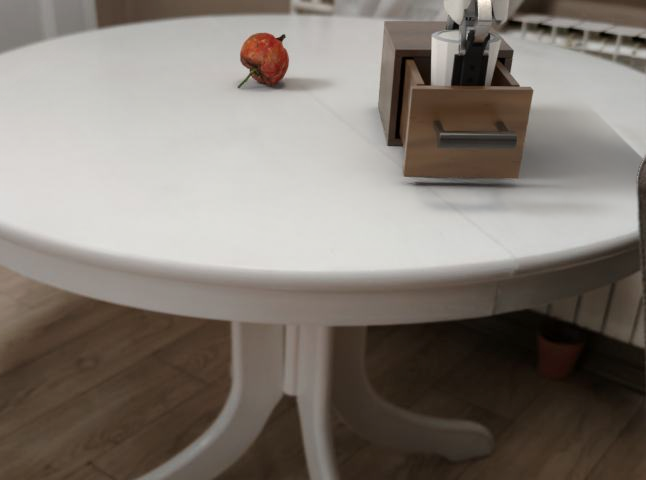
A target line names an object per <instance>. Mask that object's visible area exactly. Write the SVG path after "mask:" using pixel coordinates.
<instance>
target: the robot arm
mask: <svg viewBox="0 0 646 480" xmlns="http://www.w3.org/2000/svg"><path fill="white" fill-rule="evenodd" d="M442 3H443V9H444V10H445V12H446V13H447V18H446V21H447V23H446V29H445V30H458V29H459V43H458V54H454V63H453V71H452V79H451V86H485V80H486V73H487V66H488V59H489V48H490V28H491V26H492V23H493V22H494V24H496V25H497V26H502V25H504V24H505V22H507V20H508V15H509V8H510V0H443V2H442ZM467 30H470V31H469V33H468V36H467V40H466V35H467Z"/></svg>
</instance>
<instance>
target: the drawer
mask: <svg viewBox="0 0 646 480" xmlns="http://www.w3.org/2000/svg"><path fill="white" fill-rule="evenodd" d="M533 94H534V89H533V88H532V87H531V86H521V85H520V83H519V82H518V81H517V80H516V79H515V77H514V76H513V75H512V74H511V73H509V71H508V70H507V69H506V68H505V67H504V65H503V64H502V63H501V62H500V60H499V59H498V58H497V60H496V64H495V68H494V73H493V77H492V81H491V85H490V86H431V57H405V58H404V69H403V80H402V91H401V103H400V114H399V125H398V131H399V134H400V138H401V141H402V145H403V146H402V147H403V151H404V153H403V165H402V175H403V178H451V179H452V178H454V179H457V178H459V179H515V180H516V179H519V176H520V169H521V164H522V159H523V158H522V157H523V153H524V146H525V142H526V141H525V140H526V135H527V129H528V125H529V118H530V112H531V108H532V107H531V106H532V101H533Z"/></svg>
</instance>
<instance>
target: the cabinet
mask: <svg viewBox="0 0 646 480" xmlns="http://www.w3.org/2000/svg"><path fill="white" fill-rule="evenodd" d="M446 23H447V20H446V21H445V20H444V21H443V20H441V21H439V20H438V21H437V20H384V22H383V36H382V49H381V61H380V75H379V89H378V101H377V108H378V112H379V117H380V120H381V124H382V125H381V126H382V128H383V133H384V137H385V141H386V145H387V146H392V147H393V146H396V147H397V146H399V147H400V146H402V147H403V145H402V141H401V138H400V134H399V131H398V125H399V114H400V103H401V91H402V80H403V69H404V58H405V57H431V47H432V34H433V33H435V32H439V31H444V30H445V29H446ZM490 33H494V34H496V35H499V36H500V37H501V43H500V47H499V52H498V56H497V58H498V59H499V60H500V62H501V63H502V64H503V65H504V67H505V68H506V69H507V70H508V71H509V73H510V74H511V72H512V65H513V59H514V51H515V50H514V49H513V47H511V46H510V44H509V43H508V42H507V41H506V40H505V39H504V38H503V37H502V36H501V35H500V34H499V33H498V32H497V31H496V29H495V28H494V27H493V26H492V25H491V28H490Z"/></svg>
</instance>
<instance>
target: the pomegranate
mask: <svg viewBox="0 0 646 480" xmlns="http://www.w3.org/2000/svg"><path fill="white" fill-rule="evenodd" d="M286 38H287V37H286V34H285V33H282V34H281V35H279V36H278V37H275V35H273V34H272V33H269V32H256V33H253V34H251V35H250V36H249V37H248V38H247V39H246V40H245V41H244V42H243V43H242V46H241V49H240V53H239V56H240V57H239V58H240V59H239V61H240V63H241V65H242V66H243V67H245V68H246V69H248V71H249V73H248V74H247V76H246V77H245V78H244V79H243V81H241V83H240V84H239V85H237V88H238V89H240V88H241V87H242V86H243V85H244V84H245V83H247V82H248V80H249V79H250V78H252V79H253V80H254V81H256V82H258V83H262V84H265V85H267V86H269V87H270V86H271V87H272V86H275V85H277V84H278V83H279V82H280V81H281V80H283V79H284V77H285V76H286V74H287V71H288V69H289V65H290V57H289V53H288V51H287V48H285V47H284V44H283V41H284V40H285V39H286Z"/></svg>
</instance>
